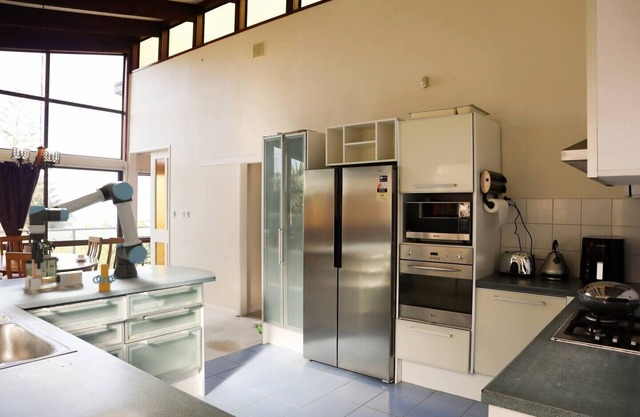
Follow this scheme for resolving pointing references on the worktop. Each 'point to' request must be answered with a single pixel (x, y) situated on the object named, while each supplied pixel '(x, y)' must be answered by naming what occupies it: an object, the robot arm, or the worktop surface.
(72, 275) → the pale grey block
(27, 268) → the olive storage canister
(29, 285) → the end socket
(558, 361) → the worktop surface
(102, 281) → the orange post with rings
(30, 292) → the birch board
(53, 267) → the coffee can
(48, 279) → the pink l-shaped block
